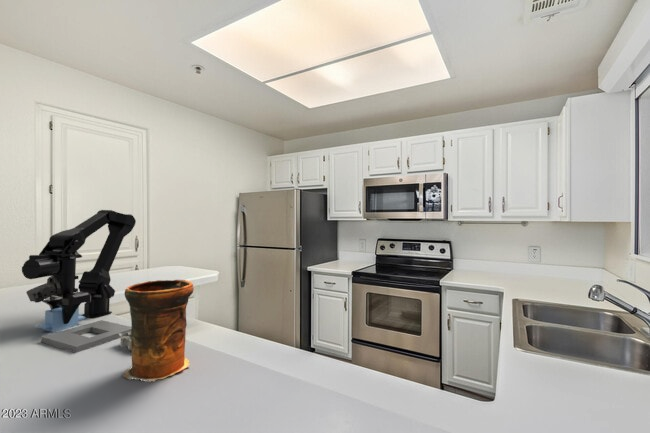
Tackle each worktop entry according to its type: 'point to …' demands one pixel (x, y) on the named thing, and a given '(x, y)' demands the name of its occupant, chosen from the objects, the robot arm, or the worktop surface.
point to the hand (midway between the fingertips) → (61, 322)
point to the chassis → (77, 342)
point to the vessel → (158, 328)
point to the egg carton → (125, 339)
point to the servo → (58, 320)
